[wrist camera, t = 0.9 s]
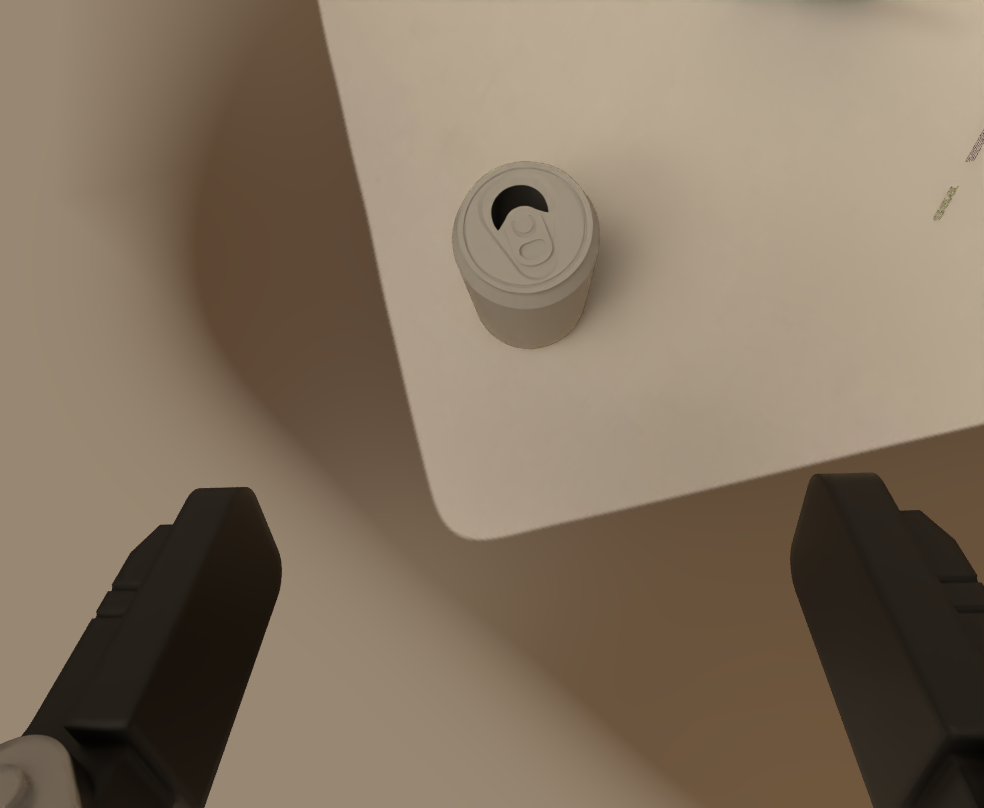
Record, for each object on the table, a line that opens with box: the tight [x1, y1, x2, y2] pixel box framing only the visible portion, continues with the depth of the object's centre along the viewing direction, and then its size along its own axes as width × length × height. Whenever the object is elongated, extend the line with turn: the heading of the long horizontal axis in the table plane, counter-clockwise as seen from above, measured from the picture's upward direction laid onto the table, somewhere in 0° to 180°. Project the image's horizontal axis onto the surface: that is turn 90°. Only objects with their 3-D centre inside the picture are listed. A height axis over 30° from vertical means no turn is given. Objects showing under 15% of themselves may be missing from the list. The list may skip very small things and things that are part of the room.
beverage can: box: [452, 161, 600, 349], centre depth 34 cm, size 6×6×12 cm
